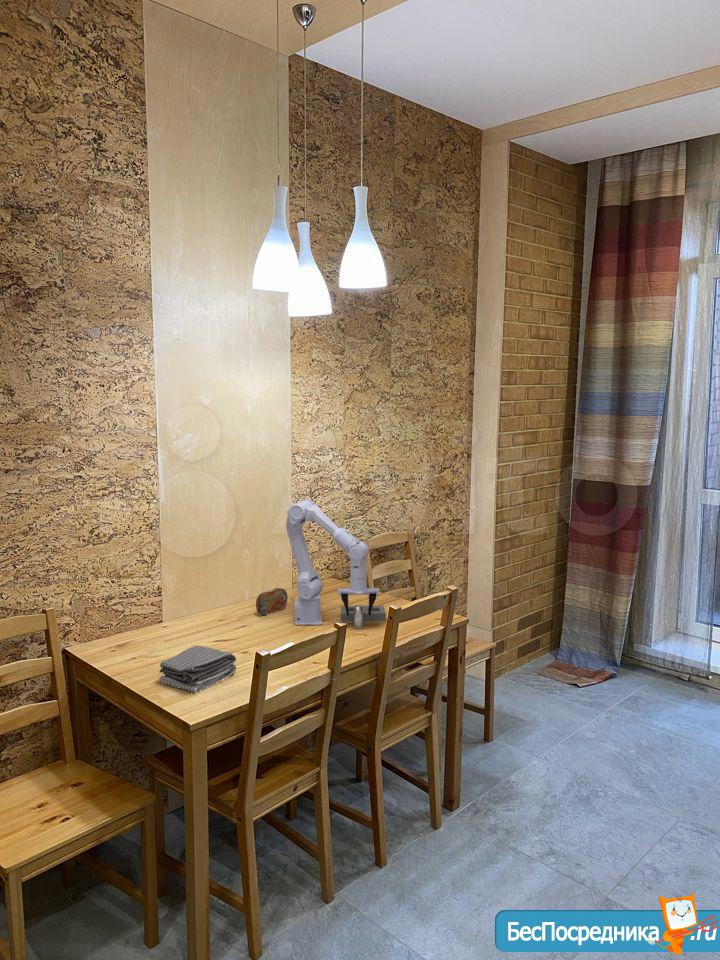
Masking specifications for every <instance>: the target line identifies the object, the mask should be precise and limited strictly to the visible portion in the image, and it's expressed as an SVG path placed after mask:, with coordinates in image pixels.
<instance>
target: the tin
mask: <svg viewBox="0 0 720 960" xmlns="http://www.w3.org/2000/svg"><path fill="white" fill-rule="evenodd" d="M288 597H289V596H288V593H287V591H286V589H285V588H282V587H281V588H279V587H275V588H273V589H269V590H267V591H264V592H261V593H259V595H258V596H257V597H256V599H255V608H256V612H257V613H258V614H260V615H264V616H269V615H272V614H274V613H277V612H279V610H280V611H282V610H283V609H285V607H286V606H287V603H288ZM276 611H277V612H276ZM271 613H272V614H271ZM268 614H269V615H268Z"/></svg>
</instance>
